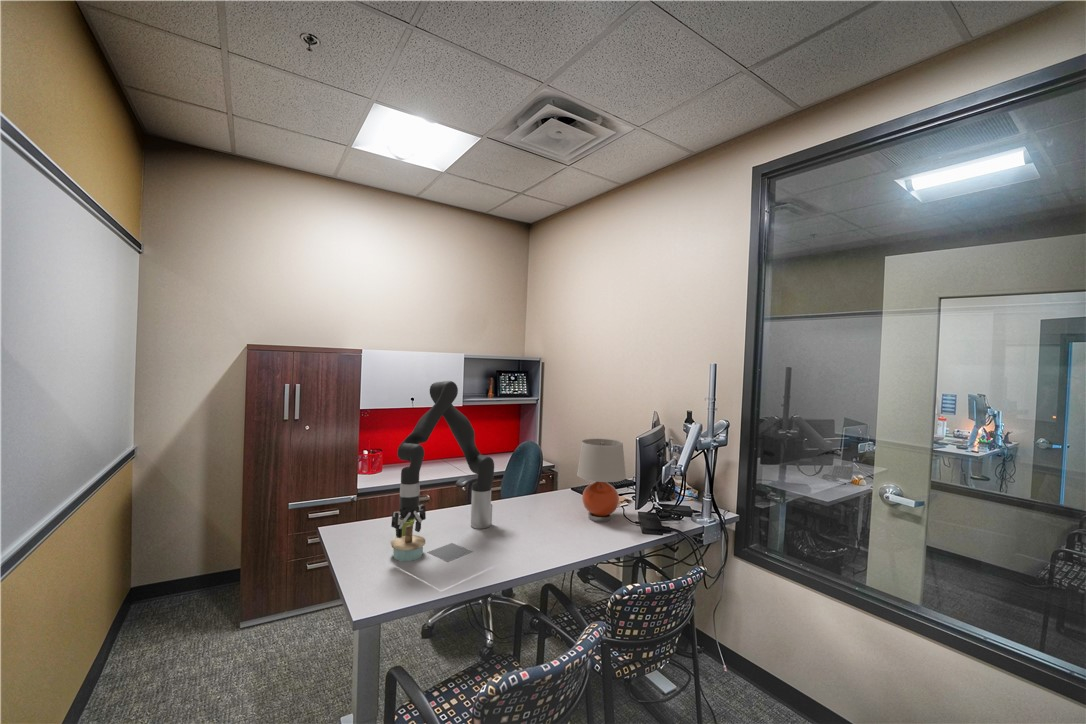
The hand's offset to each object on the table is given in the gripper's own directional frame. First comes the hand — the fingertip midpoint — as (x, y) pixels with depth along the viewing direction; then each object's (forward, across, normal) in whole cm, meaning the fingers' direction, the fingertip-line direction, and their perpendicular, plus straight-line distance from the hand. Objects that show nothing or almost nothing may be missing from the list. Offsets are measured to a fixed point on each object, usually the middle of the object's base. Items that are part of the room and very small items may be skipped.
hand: (408, 534), depth 182 cm
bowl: (+9, 0, 0) cm, 9 cm away
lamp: (+9, -92, +32) cm, 98 cm away
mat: (+9, -13, +10) cm, 19 cm away
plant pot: (+9, -9, -16) cm, 20 cm away
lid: (+4, 0, 0) cm, 4 cm away
